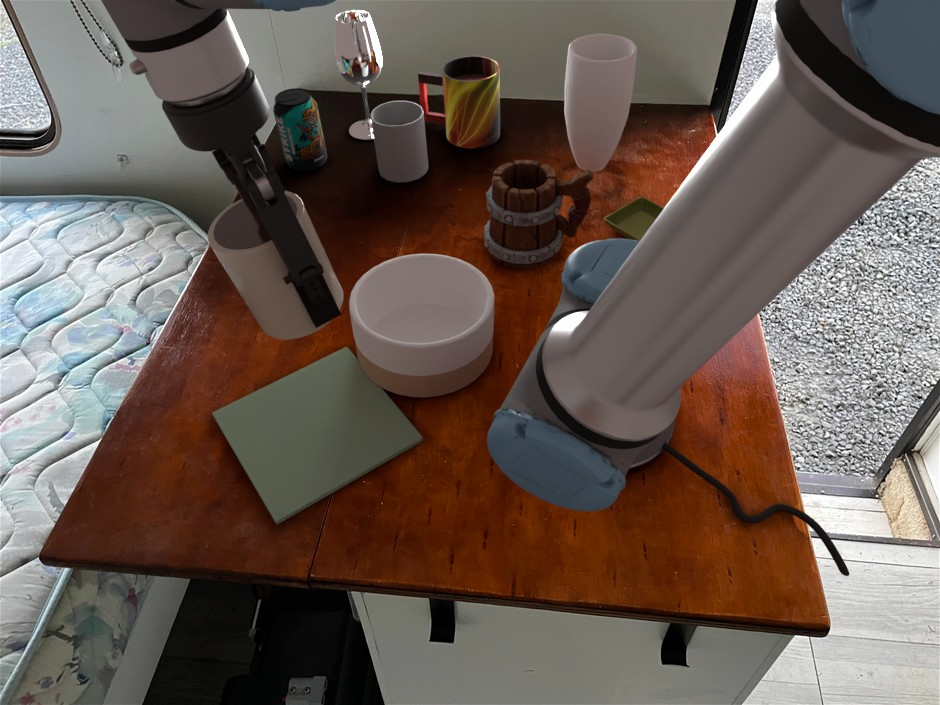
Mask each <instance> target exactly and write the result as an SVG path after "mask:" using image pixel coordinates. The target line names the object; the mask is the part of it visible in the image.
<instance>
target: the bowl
mask: <svg viewBox="0 0 940 705" xmlns="http://www.w3.org/2000/svg"><path fill="white" fill-rule="evenodd" d="M348 309H349V318H350V322H351V328H352V335H353V339H354V344H355V349H356V356H357V357H356V358H357V359H358V360H359V363H360V366H361V368H362V369H363V371H364V372H365V374H366V375H367V377H368V378H370V379H371V380H372V381H373V382H374V383H375V384H377V385H378V386H380V387H381V388H382V389H383V390H384V391H388V392H390V393H393V394H396V395H398V396H399V395H400V396H404V397H410V398H432V397H433V398H434V397H440V396H445V395H448V394H451V393H452V394H453V393H455V392H457V391H459V390H461V389H463V388H466V387H467V386H469V385H470V384H472V383H473V382H474V381H476V380H477V379H479V377H480V376H481V375H482V374H483V373H484V372H485V371H486V369H487V367H488V366H489V364H490V362H491V359H492V356H493V352H494V348H493V347H494V332H495V330H494V327H495V293H494V289H493V286H492V284H491V283H490V281H489V279H488V277H486V275H485V274H484V273H483V272H482V271H481V270H480V269H478V268H477V267H476V266H474V265H473V264H471V263H469V262H466V261H464V260H463V259H460V258H457V257H453V256H449V255H444V254H437V253H414V254H413V253H412V254H406V255H401V256H397V257H394V258H391V259H388V260H385V261H383V262H381V263H379V264H377V265H374V266H373V267H372V268H371V269H369V270H368V271H367V272H365V273H364V274H363V275H362V276H361V277H360V278H359V279H358V280H357V281H356V283H355V284H354V286H353V288H352V289H351V292H350V296H349V300H348Z"/></svg>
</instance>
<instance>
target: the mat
mask: <svg viewBox="0 0 940 705" xmlns="http://www.w3.org/2000/svg"><path fill="white" fill-rule="evenodd" d="M211 415H212V417H213V418H214V420H215V422H216V423H217V426H218V427H219V429H220V430H221V432H222V434H223V435H224V437H225V439H226V441H227V442H228V444H229V446H230V448H231V449H232V451H233V452H234V455H235V456H236V458H237V460H238V461H239V463H240V465H241V467H242V468H243V470H244V472H245V474H246V475H247V477H248V479H249V480H250V482H251V483H252V486H253V487H254V489H255V491H256V492H257V494H258V495H259V497H260V499H261V500H262V502H263V504H264V506H265V508H266V509H267V511H268V513H269V514H270V516H271V518H272V520H273V521H274V523H275V525H277V526H278V525H279V524H281V523H282V522H285V521H286V520H288V519H289V518H292V517H293V516H295V515H297V514H298V513H301V512H302V511H303V510H305V509H307V508H308V507H311V506H312V505H314V504H316V503H317V502H319V501H321V500H323V499H325V498H326V497H329V495H332V494H334V493H335V492H337V491H338V490H340V489H342V488H344V487H346V486H348V485H349V484H351V483H352V482H354V481H356V480H358V479H359V478H362V477H363V476H364V475H367V474H368V473H370V472H371V471H373V470H376V468H378V467H380V466H382V465H384V464H385V463H387V462H388V461H391V460H392V459H394V458H396V457H398V456H399V455H401V454H403V453H404V452H406V451H408V450H410V449H412V448H413V447H415V446H417V445H418V444H421V443H422V442H423V441H424V437H423V435H421V433H420V432H419V431H418V429H417V428H416V427H415V426H414V425H413V423H412V422H411V421H410V420H409V419H408V417H407V416H406V415H405V414H404V413H403V412H402V411H401V409H400V408H399V407H398V406H397V404H396V403H395V402H394V401H393V400H392V398H391V397H390V396H389V395H388V394H387V392H386V390H385V389H384V388H382V387H380V386H378V385H377V384H375V383H374V382H373V381H372V380H371V379H370V378H368V377H367V375H366V374H365V372H364V371H363V369H362V368H361V366H360V363H359V360H358V357H356V355H355V354H354V353H353V352H352V351H351V349H350V348H349V347H348V346H345V347H343V348H340V349H339V350H336V351H335V352H332V353H330V354H328V355H326V356H324V357H322V358H320V359H318V360H316V361H314V362H312V363H310V364H308V365H306V366H304V367H302V368H300V369H298V370H296V371H294V372H292V373H290V374H288V375H286V376H283V377H281V378H280V379H277V380H275V381H273V382H271V383H269V384H267V385H265V386H263V387H261V388H259V389H257V390H255V391H253V392H251V393H249V394H247V395H245V396H242V397H241V398H239V399H237V400H235V401H233V402H231V403H228V404H226V405H225V406H223V407H220V408H218V409H217V410H214V411H212V412H211Z"/></svg>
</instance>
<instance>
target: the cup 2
mask: <svg viewBox="0 0 940 705" xmlns="http://www.w3.org/2000/svg"><path fill="white" fill-rule="evenodd" d="M566 55H567V58H566V65H565V75H564V96H563V97H564V99H563V102H564V103H563V104H564V106H563V113H564V120H565V127H566V133H567V139H568V140H567V141H568V143H569V146H570V150H571V154H572V156H573V159H574V160H575V161H574V162H575V163H576V166H577V168H578V169H579V170H581V171H583V172H584V171H586V170H590V171H592V172H593V173H596V172H600V171H603V170H604V169H605V168H606V167H607V165H608V164H609V162H610V161H611V159H612V157H613V155H614V153H615V151H616V149H617V148H618V146H619V143H620V141H621V138H622V135H623V132H624V129H625V127H626V124H627V121H628V118H629V114H630V109H631V108H630V107H631V103H632V97H633V93H634V86H635V77H636V67H637V57H638V46H637V45H636V44H635V42H634V41H633V40H631V39H629V38H627V37H625V36H622V35H618V34H613V33H591V34H585V35H582V36H579V37H577V38H575V39H574V40H573V41H571V42H570V43H569V45H568V48H567V54H566Z"/></svg>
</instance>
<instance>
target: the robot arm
mask: <svg viewBox="0 0 940 705" xmlns="http://www.w3.org/2000/svg"><path fill="white" fill-rule="evenodd" d="M100 1H101V3H102V4H103V6H104V8H105V10H106V12H107V13H108V15H109V18H110V19H111V20H112V22H113V23H114V25H115V27H116V28H117V30H118V32H119V34H120V36H121V37H122V38H123V40H124V42H125V43H126V45H127V47H128V48H129V49H130V52H131V54H132V55H133V56H134V58H136V59H135V60H133V61H131V62H129V69H130V71H131V73H132V74H133V75H136V76H140V75H143V74H144V76H145V78H146V80H147V83H148V84H149V86H150V88H151V89H152V91H153V93H154V95H155V97H157V98H158V99H159V100H162V102H161V108H162V110H163V112H164V115H165V116H166V118H167V120H168V121H169V123H170V125H171V127H172V129H173V130H174V132H175V133H176V135H177V137H178V139H179V141H180V142H181V144H182V145H183V146H184V147H186V148H188V149H190V150H192V151H196V152H202V153H203V152H205V153H206V152H211V154H212V156H213V157H214V159H215V161H216V162H217V164H218V166H219V168H220V169H221V170H222V171H223V173H224V175H225V177H226V179H227V180H228V181H229V182H230V183H231V185H233V186H235V189H236V191H237V192H238V194H239V196H240V197H241V199H243V201H244V203H245V205H246V206H247V208H249V209H251V210H255V211H256V212H257V214H258V216H259V218H260V220H261V222H262V223H263V225H264V227H265V229H266V231H267V233H268V234H269V236H270V238H271V240H272V241H273V243H274V245H275V247H276V249H277V250H278V252H279V254H280V256H281V258H282V260H283V262H284V264H285V265H286V267H287V269H288V272H289V273H288V275H287V276H285V277H283V280H284V281H285V283H286V285H287V284H289V283H291V282H292V283H293V285H294V287H295V289H296V291H297V293H298V295H299V297H300V299H301V301H302V303H303V304H304V306H305V308H306V310H307V312H308V314H309V316H310V318H311V320H312V322H313V324H314V325H315V327H316V328H317V327H319V326H321V325H323V324H325V323H327V322H329V321H330V320H331V321H333V320H335V319H336V318H338V317H340V316H342V313H341V311H340V310H341V309H340V310H339V308H338V306H337V304H336V302H335V300H334V298H333V296H332V293H331V291H330V289H329V287H328V285H327V283H326V281H325V279H324V276H323V273H324V270H323V266H322V265H321V264H320V263H319V261H318V259H317V257H316V255H315V253H314V251H313V249H312V247H311V245H310V243H309V241H308V239H307V237H306V235H305V233H304V231H303V229H302V227H301V225H300V223H299V221H298V219H297V217H296V215H295V213H294V211H293V209H292V207H291V205H290V203H289V201H288V199H287V197H286V195H285V191H286V190H285V188H284V186H283V184H282V182H281V179H280V177H279V174H278V173H277V172H276V170H275V168H274V166H273V158H272V156H271V155H270V153H269V152H270V151H269V150H268V149H267V147H266V145H265V144H264V143H261V141H260V139H259V136H258V135H257V134H256V133H258V132H259V130H262V128H263V127H264V126H265V125H266V123H267V121H268V119H269V118H270V117H269V116H270V106H269V103H268V101H267V99H266V96H265V94H264V92H263V89H262V87H261V84H260V83H259V80H258V78H257V76H256V74H255V71H254V70H253V69H252V68H250V67H248V65H249V63H250V60H249V56H248V54H247V51H246V49H245V47H244V45H243V42H242V40H241V38H240V36H239V33H238V31H237V29H236V27H235V24H234V22H233V20H232V17H231V15H230V13H229V10H272V11H274V12H281V11H284V12H288V13H290V12H296V11H300V10H301V9H307V8H315V7H324V6H327V5H331V4H333V3H335V2H336V1H337V0H100ZM770 20H771V26H772V32H773V39H774V43H775V44H774V45H775V49H776V50H775V52H776V53H775V56H774V57H773V58H772V60H771V62H770V63H769V64H768V66H766V68H765V70H764V71H763V73H762V74H761V75H760V76H759V78H758V79H757V81H756V82H755V83H754V85H753V86H752V87H751V89H750V90H749V91H748V93H747V94H746V96H745V97H744V98H743V100H742V101H741V103H739V105H738V107H737V108H736V109H735V111H734V112H733V113H732V115H731V116H730V117H729V119H728V120H727V121H726V122H725V124H724V126H723V127H722V128H721V130H720V131H719V132H718V133H717V135H716V137H715V138H714V139H713V140H712V142H711V143H710V145H709V147H707V149H706V151H704V153H703V154H702V156H701V157H700V158H699V160H698V161H697V162H696V164H695V165H694V167H693V168H692V169H691V171H690V172H689V174H688V175H687V176H686V178H684V179H683V180H684V181H683V182H682V183H681V184H680V186H679V187H678V189H677V190H676V191H675V193H674V194H673V195H672V197H671V198H670V200H668V202H667V204H666V205H665V206H664V207H663V208H664V209H663V210H662V212H661V213H660V215H659V216H658V217H657V219H656V220H655V221H654V223H653V224H652V225H651V227H650V228H649V230H648V231H647V232H646V234H645V235H644V236H643V238H642V239H641V241H638V240H632V239H628V238H617V237H615V238H607V239H597V240H593V241H590V242H587V243H584V244H582V245H580V246H579V247H577V248H576V249H574V250H573V251H572V252H571V253H570V254H569V255H568V257H567V258H566V260H565V264H564V266H563V271H562V272H561V276H560V280H561V285H562V286H561V294H560V299H559V301H558V304H557V306H556V308H555V309H554V312H553V313H552V315H551V317H550V319H549V321H548V323H547V325H546V326H545V328H544V330H543V331H542V334H541V335H540V337H539V339H538V340H537V342H536V344H535V345H534V347H533V349H532V351H531V352H530V354H529V357H528V358H527V359H526V362H525V363H524V365H523V367H522V369H521V370H520V372H519V374H518V376H517V378H516V380H515V381H514V383H513V385H512V386H511V388H510V390H509V392H508V393H507V396H506V397H505V399H504V401H503V402H502V404H501V406H500V408H499V409H497V410H496V411H495V412H494V414H493V422H492V423H491V425H490V428H489V430H488V432H487V435H486V445H487V449H488V452H489V455H490V456H491V459H492V461H493V462H494V463H495V464H496V465H497V466H498V468H499V470H500V471H501V472H502V473H503V474H504V475H505V476H506V477H507V478H508V479H509V480H510V481H512V482H513V483H514V484H516V485H517V486H518V487H519V488H520V489H522V490H524V491H525V492H527V493H529V494H531V495H532V496H534V497H536V498H537V499H540V500H542V501H544V502H546V503H548V504H551V505H553V506H557V507H560V508H563V509H564V508H565V509H568V510H572V511H576V512H598V511H601V510H604V509H607V508H609V507H611V506H612V505H613V504H614V503H615V502H616V501H617V499H618V497H619V496H620V493H621V491H623V490H624V489H625V487H626V485H627V479H626V476H627V475H632V474H636V473H638V472H641V471H643V470H645V469H647V468H650V466H652V465H654V464H655V463H657V461H658V460H659V459H661V458H662V457H663V455H664V454H665V453H668V454H669V455H670V456H672V457H673V458H674V459H676V460H677V461H678V462H680V463H681V464H682V465H684V467H686V468H687V469H689V470H690V471H691V472H692V473H694V474H696V475H697V476H698V477H700V478H701V479H703V480H704V481H706V482H707V483H708V484H710V485H711V486H713V487H714V488H716V489H717V491H719V492H720V493H722V495H724V497H726V499H727V500H728V501H729V503H730V506H731V508H732V511H733V513H734V514H735V516H736V517H737V518H738V519H739V520H740V521H742V522H744V523H747V524H754V525H755V524H759V523H761V522H762V523H763V522H764V521H765V520H767V519H768V518H769V517H771V516H773V515H774V514H777V513H779V512H782V513H783V512H784V513H787V514H789V515H792V516H794V517H796V518H798V519H800V520H801V521H803V523H805V524H807V525H808V526H809V527H810V529H812V530H813V531H814V532H815V534H816V535H817V537H819V539H820V540H821V542H822V543H823V544H824V547H825V548H826V549H827V551H828V553H829V554H830V556H831V558H832V560H833V562H834V563H835V565H836V567H837V569H838V571H839V573H840V574H841V575H843V576H845V577H850V571H849V568H848V567H847V564H846V562H845V561H844V559H843V557H842V556H841V554H840V552H839V550H838V549H837V547H836V545H835V544H834V542H833V540H832V539H831V537H830V536H829V535H828V533H827V532H826V530H824V528H823V527H822V526H821V525H820V523H818V522H817V521H816V520H815V519H814V518H813V517H811V516H810V515H809V514H807V513H806V512H805V511H803V510H801V509H799V508H797V507H794V506H792V505H788V504H786V503H775V504H773V505H770V506H768V507H767V508H765V509H764V510H762V511H761V512H759V513H757V514H755V515H750V514H746V513H745V512H744V511H743V509H742V508H741V505H740V502H739V500H738V498H737V497H736V495H735V494H734V493H733V491H732V490H730V489H729V488H728V487H727V486H726V485H725V484H724V483H722V482H721V481H720V480H719V479H717V478H716V477H714V476H713V475H711V474H710V473H709V472H707V471H705V470H704V469H703V468H702V467H700V466H699V465H697V464H695V463H694V462H693V460H690V459H689V458H688V457H686V456H685V455H684V454H682V453H681V452H680V451H678V450H677V449H676V448H675V447H673V446H672V445H670V444H671V441H672V438H673V434H674V430H675V424H676V418H677V415H678V413H679V412H680V411H679V410H680V407H681V402H682V386H684V384H686V382H688V381H689V380H690V379H691V378H692V377H693V376H694V375H695V374H696V373H697V372H699V370H700V369H701V368H703V367H704V366H705V365H706V364H707V363H708V362H709V361H710V360H711V359H712V358H713V357H714V356H715V355H716V354H717V353H718V352H719V351H720V350H721V349H722V348H723V347H725V346H726V344H728V343H729V342H730V341H731V340H732V339H733V338H734V337H735V336H736V335H737V334H738V333H739V332H741V331H742V330H743V329H744V327H746V326H747V325H748V324H749V323H750V322H751V321H752V320H753V319H754V318H756V316H757V315H759V314H760V312H762V311H763V310H764V309H765V308H766V307H767V306H768V305H769V304H771V302H772V301H773V300H774V299H775V298H777V297H778V296H779V295H780V294H781V293H782V292H783V291H784V290H785V289H786V288H787V287H788V286H789V285H791V283H792V282H793V281H795V280H796V279H797V278H798V277H799V276H800V275H801V274H802V273H803V272H804V271H805V270H806V269H807V268H809V267H810V265H811V264H813V263H814V262H815V261H816V260H817V259H818V258H819V257H820V256H821V255H822V254H823V253H825V251H827V249H828V248H829V247H831V246H832V244H834V243H836V241H837V240H838V239H839V238H840V237H841V236H842V235H843V234H845V232H847V231H848V229H850V227H852V226H853V225H854V224H855V223H856V222H857V221H858V220H859V219H860V218H861V217H862V216H863V215H864V214H865V213H867V212H868V211H869V209H871V207H873V206H874V205H875V204H876V203H877V202H879V200H880V199H881V198H883V196H884V195H886V194H887V192H889V191H890V190H891V189H892V188H893V187H894V186H895V185H896V184H897V183H898V182H899V181H901V179H903V178H904V177H905V175H907V174H908V173H909V172H910V171H911V170H912V169H913V168H914V167H915V166H916V165H917V164H918V163H920V161H923V160H924V159H931V158H932V159H935V158H940V0H776V1H775V2H774V4H773V6H772V8H771V13H770ZM250 198H252V199H250ZM331 321H330V322H331ZM330 322H329V323H330Z"/></svg>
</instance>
